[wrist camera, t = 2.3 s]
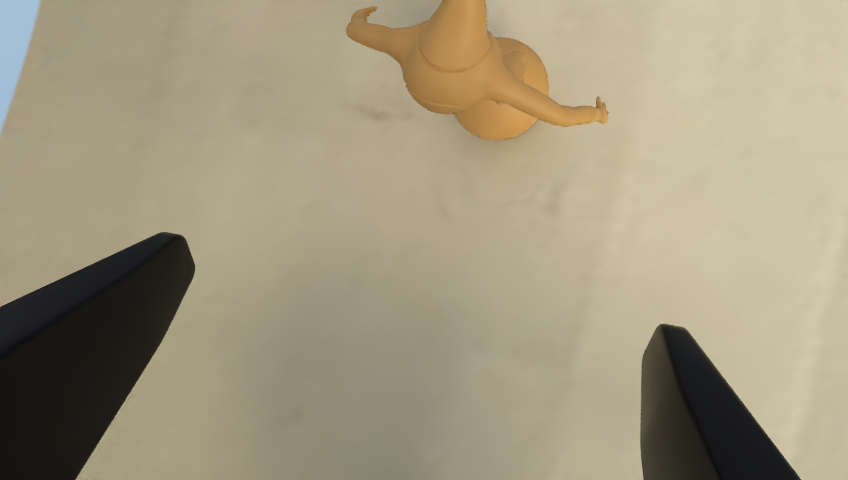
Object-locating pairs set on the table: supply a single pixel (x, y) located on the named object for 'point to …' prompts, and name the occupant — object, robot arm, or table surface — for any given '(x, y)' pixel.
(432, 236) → the table surface
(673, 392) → the robot arm
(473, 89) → the figurine
